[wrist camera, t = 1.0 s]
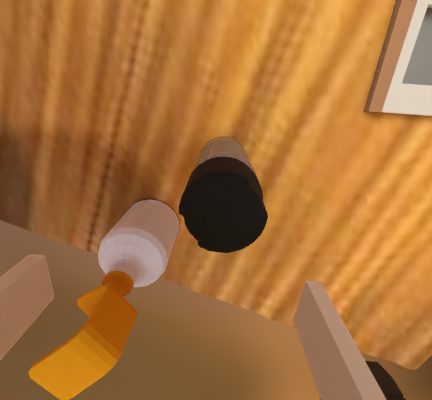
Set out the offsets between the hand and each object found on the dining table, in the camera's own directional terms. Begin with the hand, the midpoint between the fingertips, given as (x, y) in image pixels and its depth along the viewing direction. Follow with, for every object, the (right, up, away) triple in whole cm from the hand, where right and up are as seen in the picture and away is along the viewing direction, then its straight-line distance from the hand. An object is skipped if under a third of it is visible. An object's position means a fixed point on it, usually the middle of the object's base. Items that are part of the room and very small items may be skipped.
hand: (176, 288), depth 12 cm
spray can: (+3, +11, +23) cm, 26 cm away
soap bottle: (-9, +1, +28) cm, 29 cm away
